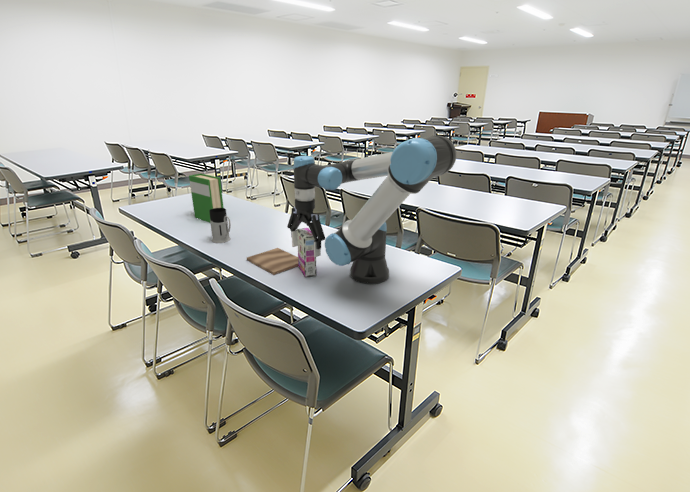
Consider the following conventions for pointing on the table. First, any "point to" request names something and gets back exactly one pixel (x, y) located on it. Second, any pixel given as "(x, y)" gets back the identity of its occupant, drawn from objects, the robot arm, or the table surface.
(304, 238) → the candy bar box
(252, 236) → the table surface
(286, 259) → the walnut board
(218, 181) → the hardback book
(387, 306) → the table surface
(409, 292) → the table surface
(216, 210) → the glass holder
